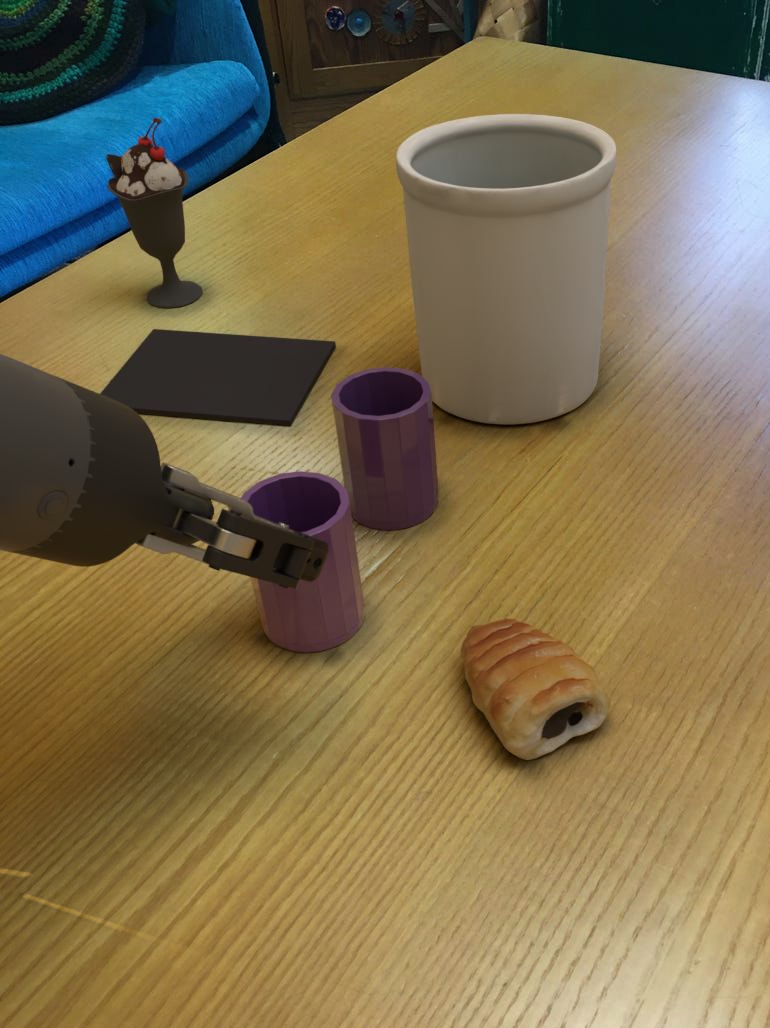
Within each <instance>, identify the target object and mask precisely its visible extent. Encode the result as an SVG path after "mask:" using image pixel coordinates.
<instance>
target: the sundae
mask: <svg viewBox="0 0 770 1028" xmlns="http://www.w3.org/2000/svg"><path fill="white" fill-rule="evenodd" d="M152 120H153V121H152V123H151V124H150V126H149V127H148V130H147V132H146V133H145V135H144V136H141V137H139V138H138V139H137V144H133V145H132V146H130V147H129V148H128V149H127V150H126V151H125V152H124V153H123V155H117V154H113V153H112V154H110V153H107V154H106V155H105V159H106V161H107V164H108V166H109V168H110V171H111V172H112V175H113V177H111V178H109V179H108V181H107V182H108V184H107V185H106V189H107V191H109V192H110V193H111V194H113V195H114V196H116V197H117V199H118V200H119V203H120V205H121V207H122V210H123V212H124V215H125V217H126V219H127V223H128V224H129V226H130V230H131V232H132V234H133V236H134V239H135V241H136V242H137V244H138V247H139V248H140V249H141V251H142V252H144V253H146V254H147V255H148V256H150V257H152V258H154V259H157V260H158V261H159V263H160V268H161V271H162V282H161V284H157V285H156V286H154V287H152V288H150V290H148V292H147V294H146V301H147V302H148V303H149V304H150V305H151V306H154V307H158V308H161V309H162V308H164V309H173V308H174V309H175V308H179V307H183V306H187V305H190V304H192V303H194V302H196V301H197V300H198V299H200V297H201V296H202V295H203V288H202V287H201V285H199V284H198V283H196V282H194V281H191V280H181V278H180V277H179V275H178V273H177V271H176V266H175V263H174V262H175V261H174V259H175V258H176V255H177V254H178V253H180V251H182V250H181V249H183V246H184V245H185V243H186V224H185V213H184V203H183V190H184V189H186V188H187V187H188V185H189V175H188V173H187V172H186V170H185V169H184V168H183V167H177V165H176V164H174V163H173V162H172V161H171V160H170V159H168V158H167V157H166V151H165V149H164V148H163V147H162V146H158V145H157V143H156V140H155V132H156V129H157V128H158V126H159V125H160V124H162V123H163V121H162V119H161V118H159V117H153V118H152ZM154 124H156V125H155V126H154ZM153 126H154V127H153ZM152 127H153V130H152V134H151V135H152V136H151V138H152V139H151V138H150V137H149V133H150V132H151V129H152Z"/></svg>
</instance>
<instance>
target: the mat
mask: <svg viewBox="0 0 770 1028" xmlns="http://www.w3.org/2000/svg"><path fill="white" fill-rule="evenodd" d="M336 347H337V345H336V341H333V340H320V339H305V338H304V339H303V338H291V337H275V336H261V335H247V334H232V333H219V332H206V331H205V332H204V331H203V332H202V331H188V330H173V329H161V328H160V329H159V328H153V329H152V330H151V331H150V332H149V334H148V335H147V336H146V337H145V338H144V340H143V341H142V342H141V343H140V344H139V346H137V348H136V349H135V351H133V353H132V354H131V356H129V358H128V359H127V360H126V362H125V363H123V365H122V367H121V368H120V369H119V370H118V371H117V373H116V374H115V375H114V376H113V377H112V378H111V380H110V381H109V382H108V383H107V385H106V386H105V387H104V389H102V391H101V392H100V393H99V394H101V395H103V396H106V397H108V398H111V399H113V400H116V401H118V402H121V403H123V404H125V405H127V406H128V407H130V408H132V409H133V410H134V411H135V412H137V413H138V414H139V415H152V416H163V417H165V416H166V417H175V418H188V419H201V420H211V421H222V422H223V421H225V422H238V423H248V424H249V423H250V424H260V425H261V424H262V425H275V426H284V427H285V426H287V427H291V426H292V424H293V423H294V421H295V419H296V418H297V416H298V414H299V412H300V410H301V408H302V407H303V405H304V404H305V401H306V400H307V399H308V396H309V395H310V393H311V391H312V389H313V387H314V386H315V384H316V382H317V380H318V379H319V377H320V376H321V374H322V371H324V368H325V366H326V365H327V363H328V361H329V359H330V358H331V356H332V354H333V352H335V351H334V350H335V349H336Z"/></svg>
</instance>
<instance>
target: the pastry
mask: <svg viewBox="0 0 770 1028" xmlns="http://www.w3.org/2000/svg"><path fill="white" fill-rule="evenodd" d="M460 656H461V658H462V661H463V666H464V677H465V680H466V682H467V683H468V686H469V688H470V692H471V699H472V702H473V704H474V706H475V707H476V708H477V709H478V710H479V711H480V712H481V713H483V716H484V718H485V719H486V720H487V722H488V724H489V726H490V728H491V729H492V730H493V732H494V733H495V735H496V737H497V738H498V740H499V741H500V743H501V744H502V746H503V747H504V749H505V750H507V751H508V752H509V753H511V754H512V755H514V756H516V757H517V758H519V759H522V760H525V761H531V760H536V759H537V758H540V757H542V756H544V755H547V754H549V753H552V752H554V751H555V750H556V749H557V748H558V749H559V748H560V747H561V746H563V745H565V744H566V743H567V742H568V741H569V740H570V739H572V738H573V737H579V736H582V735H585V734H588V733H589V732H592V731H595V730H596V729H598V728H599V727H601V725H602V724H603V722H604V721H605V720H606V719H607V717H608V714H609V710H610V708H611V707H610V706H611V697H610V696H609V694H607V692H606V690H605V688H604V685H603V684H602V683H601V681H600V680H599V678H598V675H597V673H596V671H595V669H594V667H593V666H592V665H591V664H589V663H587V662H586V661H585V660H584V659H582V658H581V656H580V655H579V654H578V653H577V652H576V651H575V650H574V649H573V648H572V647H571V646H569V644H567V643H565V642H563V641H562V640H561V639H557V638H554V637H552V636H551V635H549V634H548V633H546V632H542V630H540V629H539V628H537V627H534V626H532V625H530V624H529V623H526V622H521V621H518V620H517V619H514V618H504V619H499V620H495V621H490V622H489V623H486V624H476V625H473V626H471V627H470V628H469V629H468V631H467V633H466V637H465V638H464V640H463V641H462V644H461V647H460Z"/></svg>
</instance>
